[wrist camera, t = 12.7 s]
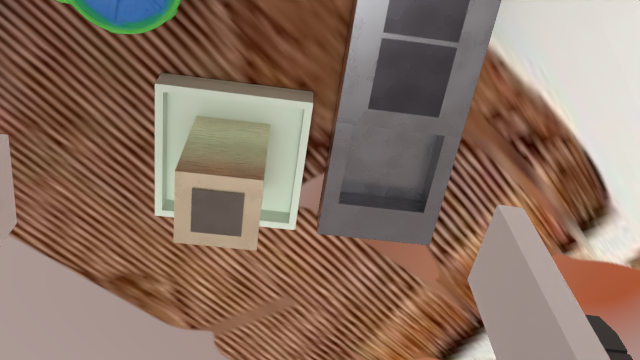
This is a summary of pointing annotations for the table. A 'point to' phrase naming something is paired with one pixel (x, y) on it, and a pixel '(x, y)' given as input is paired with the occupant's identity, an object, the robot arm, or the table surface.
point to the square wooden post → (221, 183)
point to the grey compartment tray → (401, 115)
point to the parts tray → (244, 105)
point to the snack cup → (126, 13)
